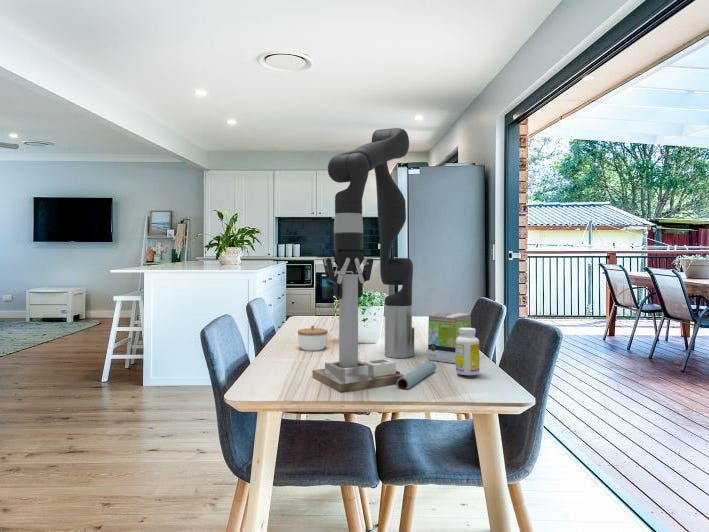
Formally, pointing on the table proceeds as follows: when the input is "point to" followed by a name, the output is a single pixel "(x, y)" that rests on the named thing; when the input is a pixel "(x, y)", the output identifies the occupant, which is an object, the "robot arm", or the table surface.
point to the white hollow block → (382, 367)
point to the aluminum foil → (416, 375)
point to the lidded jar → (312, 338)
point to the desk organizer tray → (352, 377)
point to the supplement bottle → (467, 352)
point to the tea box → (445, 335)
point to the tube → (348, 322)
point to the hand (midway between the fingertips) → (348, 297)
